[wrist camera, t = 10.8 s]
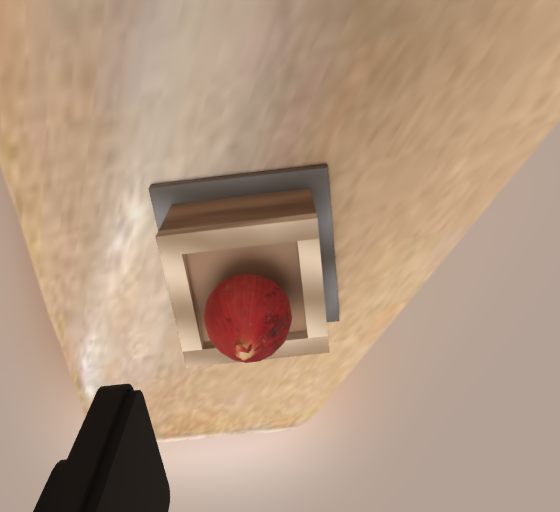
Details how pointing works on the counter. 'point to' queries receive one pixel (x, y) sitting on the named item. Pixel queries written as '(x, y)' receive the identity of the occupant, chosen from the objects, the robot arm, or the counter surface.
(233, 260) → the open square box
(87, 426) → the robot arm
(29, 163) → the counter surface
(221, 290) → the pomegranate
